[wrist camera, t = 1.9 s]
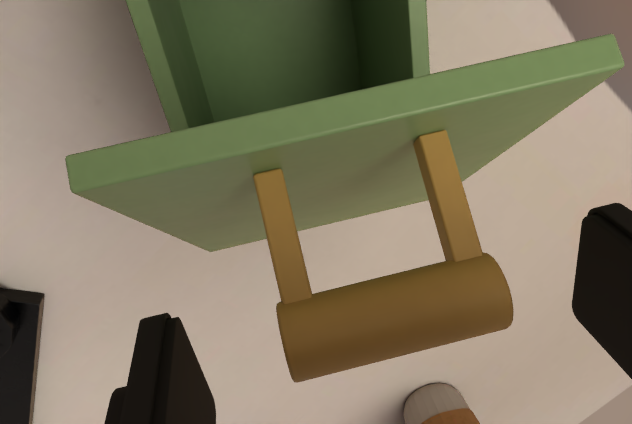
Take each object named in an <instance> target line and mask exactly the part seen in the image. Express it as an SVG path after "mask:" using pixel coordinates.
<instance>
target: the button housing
mask: <svg viewBox="0 0 632 424" xmlns="http://www.w3.org/2000/svg"><path fill="white" fill-rule="evenodd" d="M43 304H44V294H43V293H35V292H27V291H20V290H12V289H4V288H0V424H32V420H33V410H34V399H35V389H36V378H37V368H38V357H39V347H40V336H41V325H42V315H43Z"/></svg>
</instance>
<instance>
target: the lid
mask: <svg viewBox="0 0 632 424" xmlns="http://www.w3.org/2000/svg"><path fill="white" fill-rule="evenodd" d="M623 66H624V60H623V58H622V55H621V52H620V49H619V47H618V44H617V41H616V38H615V36H614V35H613V34H608V35H603V36H599V37H594V38H590V39H585V40H581V41H576V42H572V43H567V44H563V45H558V46H554V47H550V48H545V49H541V50H536V51H532V52H527V53H523V54H518V55H514V56H509V57H505V58H500V59H496V60H491V61H487V62H483V63H478V64H474V65H469V66H465V67H460V68H456V69H451V70H447V71H442V72H438V73H433V74H429V75H424V76H420V77H416V78H411V79H407V80H402V81H398V82H393V83H389V84H384V85H380V86H375V87H371V88H366V89H362V90H358V91H353V92H349V93H344V94H340V95H335V96H331V97H326V98H322V99H317V100H313V101H308V102H304V103H299V104H295V105H291V106H286V107H282V108H277V109H273V110H268V111H264V112H259V113H255V114H250V115H246V116H241V117H237V118H232V119H228V120H224V121H219V122H215V123H210V124H206V125H201V126H197V127H192V128H188V129H183V130H179V131H174V132H170V133H165V134H161V135H157V136H152V137H148V138H143V139H139V140H134V141H130V142H125V143H121V144H116V145H112V146H107V147H103V148H99V149H94V150H90V151H85V152H81V153H76V154H72V155H68V156H66V159H65V160H66V166H67V172H68V178H69V184H70V190H71V191H72V193H74V194H77V195H79V196H81V197H84V198H86V199H88V200H90V201H93V202H95V203H97V204H100V205H102V206H104V207H107V208H109V209H111V210H114V211H116V212H118V213H121V214H123V215H125V216H128V217H130V218H132V219H135V220H137V221H139V222H142V223H144V224H146V225H149V226H151V227H153V228H156V229H158V230H160V231H163V232H165V233H167V234H170V235H172V236H174V237H177V238H179V239H181V240H183V241H186V242H188V243H190V244H193V245H195V246H197V247H200V248H202V249H204V250H207V251H209V252H213V251H217V250H221V249H226V248H230V247H234V246H238V245H242V244H247V243H251V242H255V241H259V240H263V239H267V241H268V245H269V249H270V254H271V258H272V262H273V267H274V271H275V275H276V280H277V284H278V288H279V293H280V297H281V302H279V303H278V304H277V306H276V311H277V319H278V324H279V330H280V335H281V339H282V344H283V348H284V353H285V357H286V361H287V364H288V368H289V372H290V375H291V377H292V379H293V381H294V382H301V381H305V380H309V379H313V378H317V377H321V376H324V375H328V374H332V373H336V372H340V371H344V370H348V369H352V368H356V367H359V366H363V365H367V364H371V363H375V362H379V361H383V360H387V359H391V358H395V357H398V356H402V355H406V354H410V353H414V352H418V351H422V350H426V349H430V348H433V347H437V346H441V345H445V344H449V343H453V342H457V341H461V340H465V339H468V338H472V337H476V336H480V335H484V334H488V333H492V332H496V331H500V330H503V329H507V328H508V327H509V326H510V325H511V323H512V321H513V303H512V298H511V293H510V290H509V286H508V284H507V281H506V278H505V276H504V274H503V272H502V270H501V268H500V267H499V265H498V263H497V262H496V261H495V259H494V258H493V257H492V256H490V255H489V254H487V253H483V252H482V249H481V246H480V243H479V239H478V236H477V233H476V229H475V226H474V222H473V219H472V216H471V212H470V209H469V205H468V202H467V199H466V195H465V192H464V188H463V185H462V181H464V180H465V179H467V178H468V177H469V176H471V175H472V174H474V173H475V172H476V171H478V170H479V169H481V168H482V167H483V166H485V165H486V164H488V163H489V162H490V161H492V160H493V159H495V158H496V157H497V156H499V155H500V154H502V153H503V152H505V151H506V150H507V149H509V148H510V147H512V146H513V145H514V144H516V143H517V142H519V141H520V140H521V139H523V138H524V137H526V136H527V135H528V134H530V133H531V132H533V131H534V130H535V129H537V128H538V127H540V126H541V125H543V124H544V123H545V122H547V121H548V120H550V119H551V118H552V117H554V116H555V115H557V114H558V113H559V112H561V111H562V110H564V109H565V108H566V107H568V106H569V105H571V104H572V103H573V102H575V101H576V100H578V99H579V98H580V97H582V96H583V95H585V94H586V93H588V92H589V91H590V90H592V89H593V88H595V87H596V86H597V85H599V84H600V83H602V82H603V81H604V80H606V79H607V78H609V77H610V76H611V75H613V74H614V73H616V72H617V71H618V70H620V69H621V68H623ZM426 200H429V203H430V206H431V210H432V213H433V217H434V220H435V224H436V227H437V231H438V234H439V238H440V241H441V245H442V249H443V252H444V256H445V259H446V261H444V262H440V263H436V264H432V265H428V266H424V267H420V268H416V269H412V270H408V271H404V272H400V273H396V274H392V275H388V276H383V277H379V278H375V279H371V280H367V281H363V282H359V283H355V284H351V285H347V286H343V287H339V288H335V289H331V290H327V291H323V292H319V293H315V294H312V292H311V288H310V284H309V280H308V275H307V271H306V267H305V263H304V259H303V254H302V250H301V246H300V242H299V238H298V234H297V231H301V230H305V229H309V228H313V227H318V226H322V225H326V224H330V223H334V222H339V221H343V220H347V219H351V218H355V217H359V216H364V215H368V214H372V213H376V212H380V211H385V210H389V209H393V208H397V207H401V206H406V205H410V204H414V203H418V202H422V201H426Z"/></svg>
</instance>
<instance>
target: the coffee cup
mask: <svg viewBox="0 0 632 424" xmlns="http://www.w3.org/2000/svg"><path fill="white" fill-rule="evenodd" d="M404 419H405V423H406V424H480V423H479V421H478V420H477V418H476V417H475V415H474V413H473V412H472V411H471V410H470V408H469V407H468V405H467V403H466V402H465V400H464V399H463V397H462V395H461V394H460V392H458V391H457V390H456V389H454V388H453V387H452V386H450V385H447V384H442V383H436V384H430V385H426V386H424V387H422V388H419V389H418V390H416V391H415V392H414V393H412V394H411V395H410V396H409V398H408V399H407V401H406V403H405V407H404Z"/></svg>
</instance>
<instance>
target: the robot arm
mask: <svg viewBox="0 0 632 424" xmlns="http://www.w3.org/2000/svg"><path fill="white" fill-rule="evenodd" d="M572 309H573V312H574V315H575V317H576V318H577V320H578V321H579V322H580V323H581V324H582V325H583V326H584V327H585V328H586V330H587V331H588V332H589V333H590V334H591V335H592V336H593V337H594V338H595V339H596V340H597V342H598V343H599V344H600V345H601V346H602V347H603V348H604V349H605V350H606V351H607V353H608V354H609V355H610V356H611V357H612V358H613V359H614V360H615V361H616V362H617V363H618V365H619V366H620V367H621V368H622V369H623V370H624V371H625V372H626V373H627V374H628V375H629V377H630V378H631V379H632V211H631V210H630V209H628V208H627V207H625V206H624V205H622V204H620V203H613V204H609V205H605V206H601V207H597V208H593V209H591V210H590V211H589V212H588V215H587V217H585V218H584V219H583V221H582V226H581V234H580V242H579V251H578V259H577V267H576V275H575V283H574V291H573V300H572ZM105 424H216V409H215V403H214V399H213V396H212V393H211V391H210V389H209V386H208V384H207V381H206V379H205V377H204V374H203V372H202V370H201V367H200V365H199V362H198V360H197V358H196V355H195V353H194V351H193V348H192V346H191V343H190V341H189V339H188V336H187V334H186V331H185V329H184V327H183V324H182V322H181V320H180V318H179V317H176V318H171V316H170V315H169V314H168V313H164V314H160V315H156V316H152V317H148V318H144V319H141V320H140V323H139V328H138V333H137V338H136V343H135V348H134V353H133V357H132V362H131V367H130V372H129V377H128V382H127V386H125V387H121V388H117V389H115V390H114V392H113V393H112V396H111V399H110V402H109V407H108V411H107V415H106V420H105Z"/></svg>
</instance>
